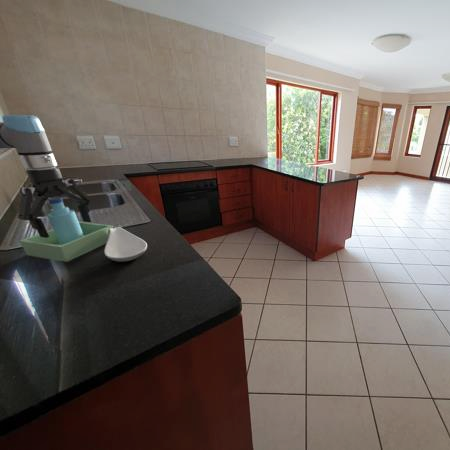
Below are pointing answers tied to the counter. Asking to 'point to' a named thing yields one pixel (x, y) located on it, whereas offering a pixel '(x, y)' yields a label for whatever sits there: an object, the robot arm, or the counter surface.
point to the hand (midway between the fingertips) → (67, 228)
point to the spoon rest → (123, 245)
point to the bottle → (64, 222)
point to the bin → (53, 250)
